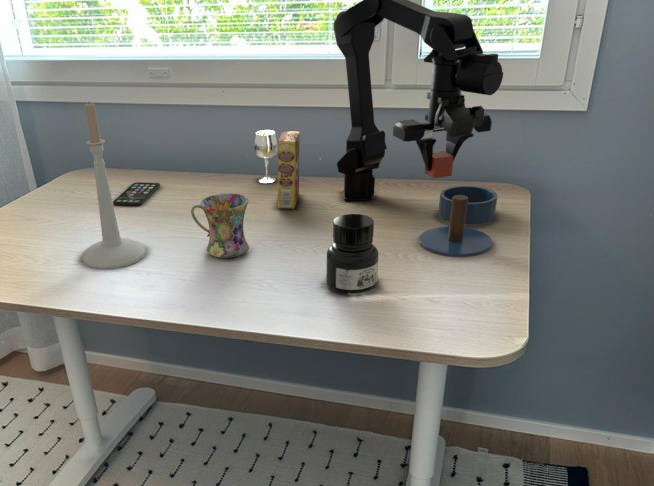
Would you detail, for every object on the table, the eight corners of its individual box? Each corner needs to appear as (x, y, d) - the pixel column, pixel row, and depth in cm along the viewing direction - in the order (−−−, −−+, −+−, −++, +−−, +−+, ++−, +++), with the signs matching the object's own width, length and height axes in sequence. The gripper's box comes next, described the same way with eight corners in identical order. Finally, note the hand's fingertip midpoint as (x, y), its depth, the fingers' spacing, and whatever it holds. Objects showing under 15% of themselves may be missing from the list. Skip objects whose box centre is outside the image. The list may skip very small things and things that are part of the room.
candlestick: (147, 264, 135) (125, 105, 119) (81, 272, 133) (50, 112, 117) (144, 240, 145) (123, 91, 129) (83, 247, 144) (55, 97, 128)
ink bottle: (340, 301, 117) (342, 235, 111) (315, 281, 124) (315, 218, 118) (388, 288, 120) (392, 223, 114) (361, 269, 127) (364, 207, 121)
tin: (443, 227, 142) (445, 204, 139) (434, 208, 152) (436, 186, 149) (499, 226, 141) (503, 203, 138) (487, 207, 151) (490, 184, 148)
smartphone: (111, 202, 165) (134, 182, 177) (112, 205, 165) (134, 184, 177) (140, 203, 163) (161, 182, 175) (140, 206, 164) (161, 185, 176)
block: (433, 178, 138) (435, 158, 136) (424, 172, 141) (425, 153, 139) (451, 175, 139) (453, 156, 137) (441, 170, 142) (443, 151, 140)
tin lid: (423, 260, 129) (428, 211, 124) (414, 232, 141) (418, 186, 136) (499, 259, 128) (507, 209, 123) (483, 231, 139) (489, 184, 134)
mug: (257, 245, 139) (255, 195, 134) (240, 264, 132) (237, 211, 127) (204, 239, 144) (200, 190, 138) (185, 257, 136) (179, 206, 131)
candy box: (296, 209, 156) (295, 141, 148) (277, 209, 157) (275, 141, 149) (300, 196, 163) (300, 130, 155) (282, 196, 164) (281, 131, 156)
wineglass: (279, 176, 177) (277, 129, 171) (277, 183, 172) (276, 135, 166) (256, 177, 178) (254, 130, 171) (255, 184, 173) (252, 136, 167)
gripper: (421, 101, 123) (414, 187, 131) (513, 90, 126) (501, 174, 135) (394, 91, 132) (389, 171, 140) (481, 80, 135) (471, 159, 144)
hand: (438, 169), depth 140 cm, fingers closed on block, 4 cm apart
